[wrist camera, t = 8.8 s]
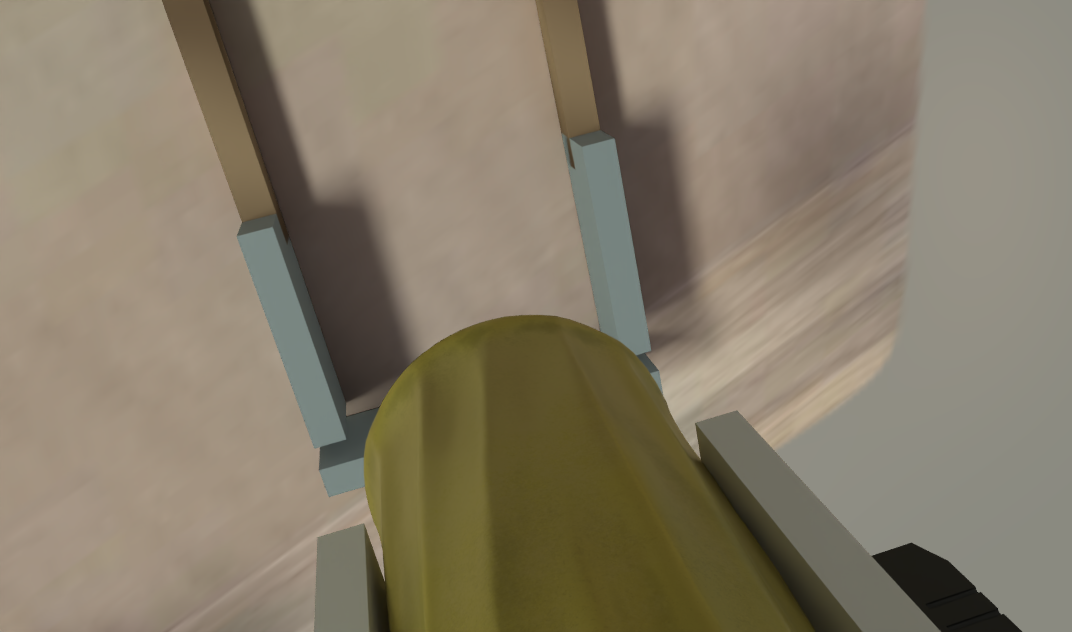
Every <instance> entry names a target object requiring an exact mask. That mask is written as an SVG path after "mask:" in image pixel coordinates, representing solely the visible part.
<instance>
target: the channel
mask: <svg viewBox="0 0 1072 632" xmlns="http://www.w3.org/2000/svg"><path fill="white" fill-rule="evenodd" d="M535 1H536V6H537V11H538V16H539V21H540V26H541V31H542V36H543V41H544V46H545V52H546V57H547V62H548V67H549V72H550V77H551V82H552V87H553V92H554V97H555V102H556V107H557V112H558V117H559V123H560V128H561V133H562V134H564V135H565V136H566V137H567V140H566V141H567V142H568V143H567V144H568V147H569V148H568V147H567V148H568V150H569V151H568V152H569V154H568V155H570V156H569V157H570V159H571V160H570V159H569V160H570V164H571V163H572V164H571V165H570V166H571V167H573V168H574V169H575V165H574V160H573V155H572V150H571V145H570V139H569V138H572V137H576V136H580V135H583V134H587V133H591V132H595V131H599V130H600V125H599V120H598V114H597V108H596V103H595V97H594V92H593V86H592V80H591V75H590V69H589V64H588V58H587V52H586V47H585V41H584V36H583V30H582V24H581V19H580V13H579V8H578V2H577V0H535ZM162 2H163V5H164V7H165V10H166V13H167V16H168V19H169V21H170V24H171V27H172V30H173V32H174V35H175V38H176V41H177V43H178V46H179V49H180V52H181V54H182V57H183V60H184V63H185V66H186V68H187V71H188V74H189V77H190V79H191V82H192V85H193V88H194V90H195V93H196V96H197V99H198V101H199V104H200V107H201V110H202V113H203V115H204V118H205V121H206V124H207V126H208V129H209V132H210V135H211V137H212V140H213V143H214V146H215V148H216V151H217V154H218V157H219V160H220V162H221V165H222V168H223V171H224V173H225V176H226V179H227V182H228V184H229V187H230V190H231V193H232V195H233V198H234V201H235V204H236V206H237V209H238V212H239V215H240V218H241V220H242V222H246V221H250V220H254V219H258V218H261V217H265V216H269V215H273V214H277V217H278V220H279V223H280V226H281V229H282V232H283V235H284V238H285V240H286V243H287V244H288V239H289V235H288V232H287V229H286V226H285V223H284V220H283V217H282V214H281V211H280V208H279V206H278V203H277V200H276V197H275V194H274V191H273V188H272V185H271V182H270V179H269V176H268V173H267V170H266V167H265V164H264V162H263V159H262V156H261V153H260V150H259V147H258V144H257V141H256V138H255V135H254V132H253V129H252V126H251V123H250V121H249V118H248V115H247V112H246V109H245V106H244V103H243V100H242V97H241V94H240V91H239V88H238V85H237V82H236V80H235V77H234V74H233V71H232V68H231V65H230V62H229V59H228V56H227V53H226V50H225V47H224V44H223V41H222V39H221V36H220V33H219V30H218V27H217V24H216V21H215V18H214V15H213V12H212V9H211V6H210V3H209V0H162Z"/></svg>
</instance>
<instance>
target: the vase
mask: <svg viewBox="0 0 1072 632" xmlns="http://www.w3.org/2000/svg"><path fill="white" fill-rule="evenodd" d="M364 481H365V490H366V495H367V500H368V505H369V508H370V511H371V515H372V518H373V521H374V523H375V525H376V528H377V530H378V533H379V536H380V540H381V544H382V549H383V561H384V575H385V587H386V599H387V609H388V619H389V629H390V632H816V630H815V629H814V627H813V626H812V624H811V623H810V621H809V619H808V618H807V616H806V615H805V613H804V612H803V610H802V608H801V607H800V605H799V604H798V602H797V600H796V599H795V597H794V596H793V594H792V592H791V591H790V589H789V587H788V586H787V584H786V583H785V581H784V579H783V578H782V576H781V575H780V573H779V572H778V570H777V569H776V567H775V566H774V564H773V563H772V561H771V560H770V558H769V557H768V556H767V554H766V553H765V551H764V550H763V549H762V547H761V546H760V544H759V543H758V542H757V540H756V539H755V537H754V536H753V535H752V533H751V532H750V530H749V529H748V528H747V526H746V525H745V523H744V522H743V521H742V519H741V518H740V517H739V515H738V514H737V512H736V511H735V510H734V508H733V506H732V505H731V503H730V502H729V500H728V499H727V497H726V495H725V494H724V492H723V491H722V489H721V488H720V486H719V485H718V483H717V482H716V480H715V479H714V477H713V476H712V475H711V473H710V472H709V470H708V469H707V468H706V467H705V465H704V464H703V463H702V461H701V460H700V458H699V457H698V456H697V454H696V453H695V452H694V450H693V449H692V448H691V446H690V445H689V443H688V442H687V440H686V439H685V438H684V436H683V434H682V433H681V431H680V430H679V428H678V426H677V425H676V423H675V421H674V419H673V417H672V415H671V413H670V411H669V408H668V405H667V402H666V400H665V399H664V397H663V395H662V393H661V391H660V389H659V387H658V385H657V383H656V381H655V380H654V378H653V377H652V375H651V374H650V372H649V371H648V369H647V368H646V367H645V365H644V364H643V363H642V362H641V361H640V360H639V358H638V357H637V356H636V355H635V354H634V352H632V351H631V350H630V349H629V348H627V347H626V346H625V345H624V344H623V343H621V342H620V341H618V340H616V339H615V338H613V337H611V336H609V335H607V334H605V333H603V332H600V331H598V330H596V329H593V328H591V327H589V326H587V325H584V324H581V323H578V322H576V321H573V320H570V319H566V318H562V317H558V316H547V315H519V316H507V317H501V318H497V319H492V320H488V321H485V322H481V323H478V324H475V325H473V326H470V327H467V328H465V329H462V330H460V331H458V332H456V333H454V334H452V335H450V336H448V337H447V338H445V339H443V340H441V341H440V342H438V343H436V344H435V345H434V346H432V347H431V348H430V349H428V350H427V351H426V352H424V353H423V354H421V355H420V356H419V357H418V358H417V359H416V360H414V361H413V362H412V363H411V364H410V365H409V366H408V367H407V368H406V369H405V370H404V372H403V373H402V374H401V375H400V376H399V378H398V379H397V380H396V382H395V383H394V384H393V385H392V387H391V389H390V390H389V392H388V393H387V395H386V397H385V398H384V400H383V401H382V404H381V406H380V408H379V410H378V412H377V414H376V416H375V419H374V421H373V423H372V426H371V428H370V430H369V433H368V436H367V439H366V443H365V451H364Z"/></svg>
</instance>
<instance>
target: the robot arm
mask: <svg viewBox="0 0 1072 632" xmlns="http://www.w3.org/2000/svg"><path fill="white" fill-rule="evenodd" d="M695 424H696V431H697V437H698V444H699V450H700V456H701V461H702V463H703V464H704V465H705V467H706V468H707V469H708V470H709V472H710V473H711V475H712V476H713V477H714V479H715V480H716V482H717V483H718V485H719V486H720V488H721V489H722V491H723V492H724V494H725V495H726V497H727V499H728V500H729V502H730V503H731V505H732V506H733V508H734V510H735V511H736V512H737V514H738V515H739V517H740V518H741V519H742V521H743V522H744V523H745V525H746V526H747V528H748V529H749V530H750V532H751V533H752V535H753V536H754V537H755V539H756V540H757V542H758V543H759V544H760V546H761V547H762V549H763V550H764V551H765V553H766V554H767V556H768V557H769V558H770V560H771V561H772V563H773V564H774V566H775V567H776V569H777V570H778V572H779V573H780V575H781V576H782V578H783V579H784V581H785V583H786V584H787V586H788V587H789V589H790V591H791V592H792V594H793V596H794V597H795V599H796V600H797V602H798V604H799V605H800V607H801V608H802V610H803V612H804V613H805V615H806V616H807V618H808V619H809V621H810V623H811V624H812V626H813V627H814V629H815V630H816V632H1022V631H1021V630H1020V629H1019V628H1018V627H1017V626H1016V625H1015V624H1014V623H1013V622H1012V621H1011V620H1009V619H1008V618H1007V617H1006V616H1005V615H1004V614H1002V615H1001V614H1000V613H999V611H998V608H997V607H996V606H995V605H994V604H993V603H992V602H990V600H989V599H988V598H986V597H985V596H984V595H983V594H982V593H981V592H980V593H978V592H977V590H976V587H975V586H974V585H973V584H972V583H971V582H970V581H969V580H968V579H967V578H966V577H965V576H963V575H962V574H961V573H960V572H959V571H958V570H957V569H956V568H955V567H954V566H953V565H952V564H951V563H950V562H949V561H947V560H945V559H943V558H941V557H939V556H937V555H935V554H933V553H931V552H929V551H927V550H925V549H923V548H921V547H919V546H917V545H915V544H913V543H909V544H907V545H903V546H900V547H897V548H894V549H891V550H888V551H885V552H882V553H879V554H876V555H873V556H871V555H870V554H869V553H868V552H867V551H866V550H865V549H864V548H863V547H862V545H860V543H859V542H858V541H857V540H856V539H855V538H854V537H853V536H852V535H851V534H850V532H849V531H848V530H847V529H846V528H845V527H844V526H843V525H842V524H841V523H840V522H839V521H838V519H837V518H836V517H835V516H834V515H833V514H832V513H831V512H830V511H829V510H828V509H827V507H826V506H825V505H824V504H823V503H822V502H821V501H820V500H819V499H818V498H817V497H816V496H815V495H814V493H813V492H812V491H811V490H810V489H809V488H808V487H807V486H806V485H805V484H804V483H803V482H802V480H801V479H800V478H799V477H798V476H797V475H796V474H795V473H794V472H793V471H792V469H791V468H790V467H789V466H788V465H787V464H786V463H785V462H784V461H783V460H782V459H781V458H780V456H778V454H777V453H776V452H775V451H774V450H773V449H772V448H771V447H770V446H769V444H768V443H767V442H766V441H765V440H764V439H763V438H762V437H761V436H760V435H759V434H758V433H757V431H756V430H755V429H754V428H753V427H752V426H751V425H750V424H749V423H748V422H747V421H746V420H745V418H744V417H743V416H742V415H741V414H740V413H739V412H738V411H733V412H730V413H727V414H724V415H720V416H717V417H714V418H710V419H707V420H704V421H700V422H697V423H695ZM314 632H390V629H389V619H388V609H387V599H386V587H385V581H384V578H383V576H382V573H381V570H380V567H379V564H378V561H377V559H376V556H375V553H374V550H373V547H372V545H371V542H370V539H369V536H368V533H367V530H366V528H365V525H364V524H360V525H357V526H354V527H350V528H347V529H344V530H340V531H337V532H334V533H331V534H327V535H324V536H321V537H318V542H317V569H316V596H315V623H314Z"/></svg>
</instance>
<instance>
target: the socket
mask: <svg viewBox="0 0 1072 632" xmlns="http://www.w3.org/2000/svg"><path fill="white" fill-rule="evenodd" d="M562 138H563V143H564V148H565V153H566V158H567V163H568V168H569V173H570V178H571V183H572V188H573V193H574V199H575V204H576V209H577V214H578V219H579V224H580V229H581V234H582V239H583V244H584V249H585V254H586V259H587V264H588V270H589V275H590V280H591V285H592V290H593V295H594V300H595V305H596V310H597V315H598V320H599V325H600V330H601V332H603V333H605V334H607V335H609V336H611V337H613V338H615V339H616V340H618V341H620V342H621V343H623V344H624V345H625V346H626V347H627V348H629V349H630V350H631V351H632V352H634V354H635V355H636V356H637V357H638V358H639V360H640V361H641V362H642V363H643V364H644V365H645V367H646V368H647V369H648V371H649V372H650V374H651V375H652V377H653V378H654V380H655V381H656V383H657V385H658V387H659V389H660V391H661V393H662V395H663V392H662V386H661V380H660V374H659V370H658V369H657V368H656V367H655V365H654V364H653V363H652V362H651V360H650V359H649V358H648V357H647V356H646V354H645V353H646V352H649V351H651V346H650V340H649V334H648V328H647V323H646V317H645V311H644V305H643V299H642V294H641V288H640V282H639V276H638V270H637V265H636V259H635V253H634V247H633V242H632V236H631V230H630V224H629V218H628V213H627V207H626V201H625V195H624V190H623V184H622V178H621V172H620V166H619V161H618V155H617V149H616V143H615V138H613V137H611V136H610V135H608V134H606V133H605V132H603V131H601V130H599V131H595V132H591V133H587V134H583V135H580V136H576V137H572V138H569V139H570V145H571V150H572V155H573V160H574V165H575V169H574V168H573V167H571V166H570V165H571V164H572V163H571V164H570V160H571V159H570V157H569V156H570V155H568V154H569V152H568V151H569V150H568V148H569V147H568V144H567V143H568V142H567V141H566V140H567V137H566V136H565V135H564V134H562ZM567 147H568V148H567ZM569 159H570V160H569ZM237 239H238V241H239V244H240V247H241V250H242V252H243V255H244V258H245V261H246V263H247V266H248V269H249V271H250V274H251V277H252V280H253V282H254V285H255V288H256V290H257V293H258V296H259V299H260V301H261V304H262V307H263V310H264V312H265V315H266V318H267V320H268V323H269V326H270V329H271V331H272V334H273V337H274V340H275V342H276V345H277V348H278V350H279V353H280V356H281V359H282V361H283V364H284V367H285V369H286V372H287V375H288V378H289V380H290V383H291V386H292V389H293V391H294V394H295V397H296V399H297V402H298V405H299V408H300V410H301V413H302V416H303V419H304V421H305V424H306V427H307V429H308V432H309V435H310V438H311V440H312V443H313V446H314V448H318V447H320V462H319V471H320V474H321V477H322V480H323V482H324V485H325V488H326V490H327V493H328V496H329V497H331V496H334V495H338V494H341V493H344V492H348V491H351V490H355V489H358V488H361V487H365V481H364V451H365V443H366V439H367V436H368V433H369V430H370V428H371V426H372V423H373V421H374V419H375V416H376V414H377V412H378V410H379V408H380V407H379V408H376V409H372V410H369V411H365V412H362V413H358V414H355V415H351V416H348V417H346V402H345V399H344V396H343V393H342V390H341V387H340V384H339V381H338V378H337V375H336V373H335V370H334V367H333V364H332V361H331V358H330V355H329V352H328V349H327V346H326V343H325V340H324V337H323V334H322V332H321V329H320V326H319V323H318V320H317V317H316V314H315V311H314V308H313V305H312V302H311V299H310V296H309V293H308V290H307V288H306V285H305V282H304V279H303V276H302V273H301V270H300V267H299V264H298V261H297V258H296V255H295V252H294V249H293V247H292V244H291V241H290V238H289V239H288V244H287V243H286V240H285V238H284V235H283V232H282V229H281V226H280V223H279V220H278V217H277V214H273V215H269V216H265V217H261V218H258V219H254V220H250V221H246V222H242V224H241V227H240V229H239V232H238V234H237Z"/></svg>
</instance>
